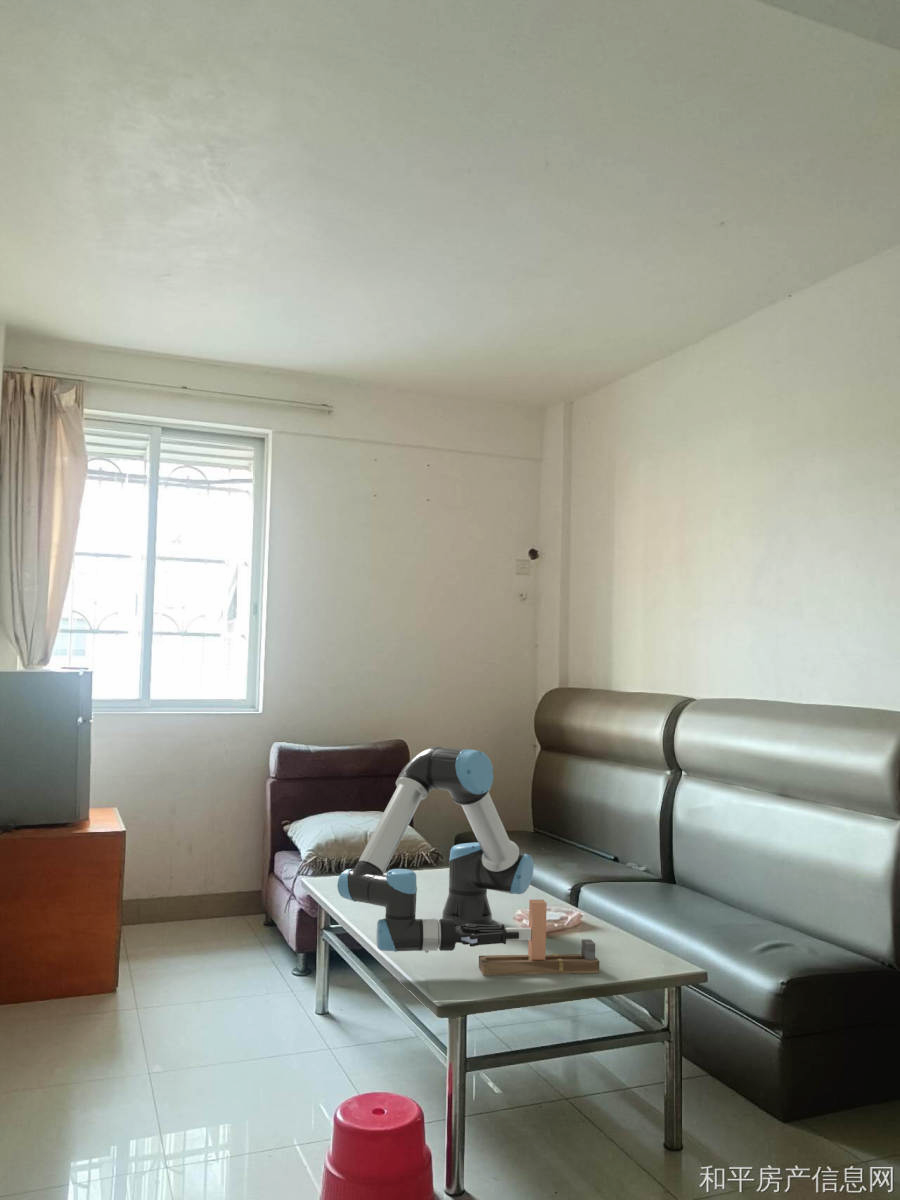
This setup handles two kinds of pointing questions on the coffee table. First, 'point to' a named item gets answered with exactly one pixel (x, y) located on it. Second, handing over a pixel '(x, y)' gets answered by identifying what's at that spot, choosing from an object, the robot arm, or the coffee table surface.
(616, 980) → the coffee table surface
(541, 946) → the block
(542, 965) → the beam
